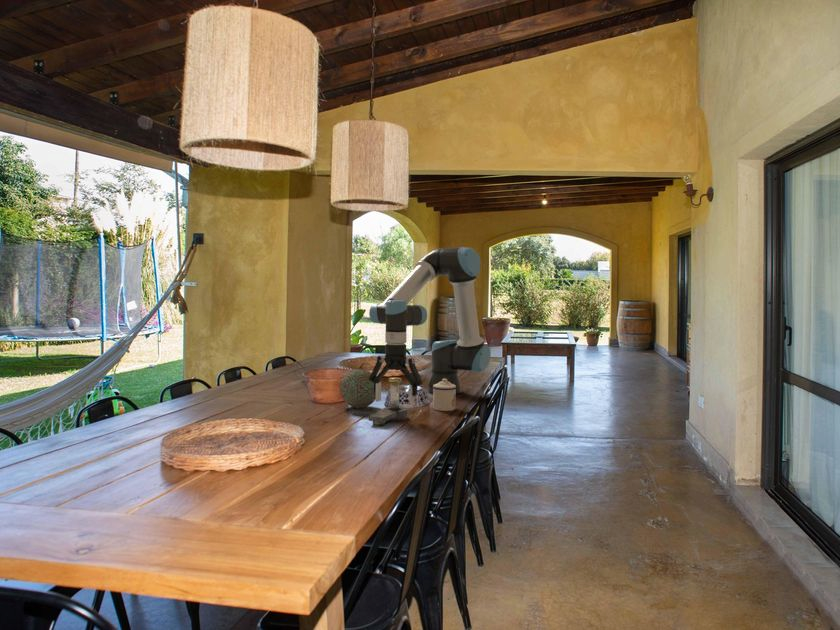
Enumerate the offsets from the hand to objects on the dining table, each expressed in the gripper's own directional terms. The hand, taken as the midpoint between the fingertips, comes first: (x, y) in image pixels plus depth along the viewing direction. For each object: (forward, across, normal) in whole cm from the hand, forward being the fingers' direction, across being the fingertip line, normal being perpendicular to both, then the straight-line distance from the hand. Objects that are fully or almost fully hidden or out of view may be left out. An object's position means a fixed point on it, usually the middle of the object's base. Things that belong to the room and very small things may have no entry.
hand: (394, 402), depth 212 cm
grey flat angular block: (+5, -6, -5) cm, 9 cm away
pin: (+5, 0, 0) cm, 5 cm away
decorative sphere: (+6, -20, +9) cm, 23 cm away
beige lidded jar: (+6, +9, +24) cm, 26 cm away
